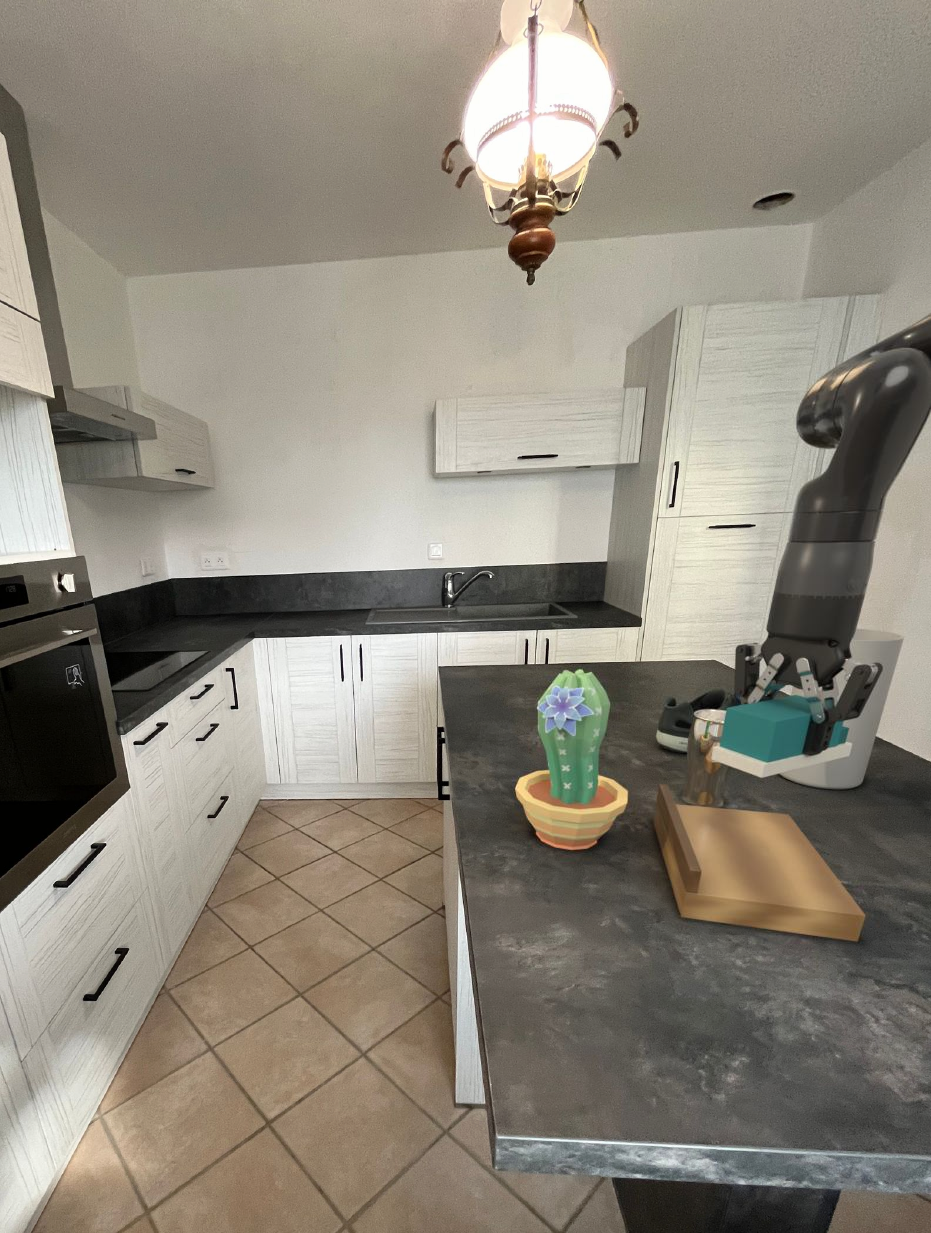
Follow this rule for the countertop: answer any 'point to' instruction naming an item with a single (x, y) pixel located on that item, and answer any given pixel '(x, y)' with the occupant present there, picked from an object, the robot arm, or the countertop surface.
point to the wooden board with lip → (751, 871)
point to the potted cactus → (572, 766)
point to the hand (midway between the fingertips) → (782, 744)
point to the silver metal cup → (705, 760)
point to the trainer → (774, 737)
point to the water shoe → (688, 717)
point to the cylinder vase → (861, 729)
